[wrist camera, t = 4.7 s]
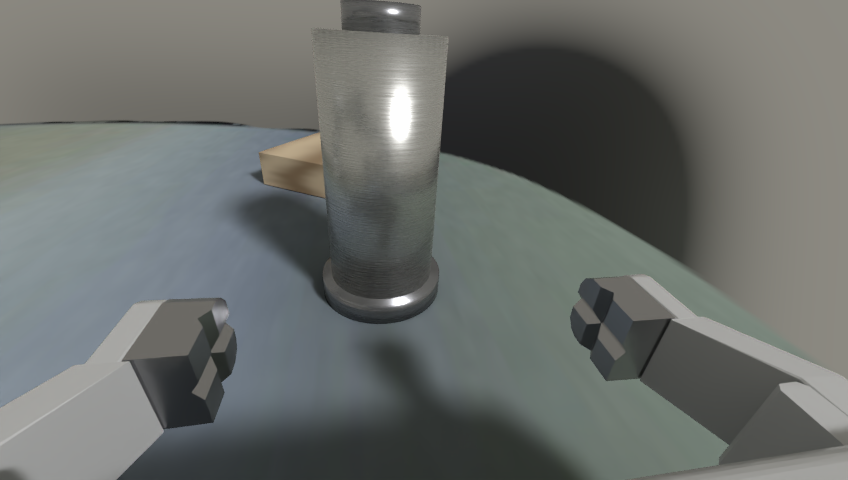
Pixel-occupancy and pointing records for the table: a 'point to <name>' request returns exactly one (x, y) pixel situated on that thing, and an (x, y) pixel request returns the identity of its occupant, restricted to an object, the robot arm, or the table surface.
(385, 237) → the cylinder
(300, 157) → the stand
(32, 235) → the table surface
